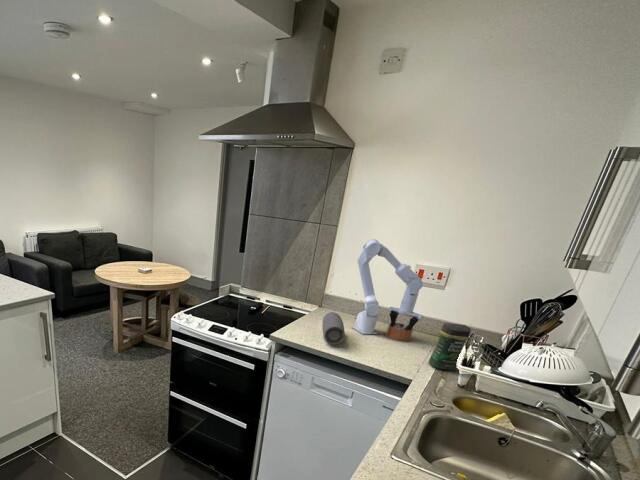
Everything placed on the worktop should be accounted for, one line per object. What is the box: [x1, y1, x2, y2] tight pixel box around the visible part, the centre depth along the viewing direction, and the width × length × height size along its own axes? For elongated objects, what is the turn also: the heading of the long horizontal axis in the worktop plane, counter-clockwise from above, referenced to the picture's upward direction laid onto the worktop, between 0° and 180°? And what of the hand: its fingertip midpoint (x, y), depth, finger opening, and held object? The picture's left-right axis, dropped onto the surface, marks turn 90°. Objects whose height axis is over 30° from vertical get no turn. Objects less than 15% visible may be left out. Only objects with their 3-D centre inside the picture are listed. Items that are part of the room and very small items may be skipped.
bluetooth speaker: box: [321, 311, 346, 345], centre depth 179 cm, size 23×9×10 cm, turn 164°
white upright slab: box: [393, 321, 410, 330], centre depth 188 cm, size 7×2×8 cm, turn 32°
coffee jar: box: [428, 322, 472, 372], centre depth 156 cm, size 10×8×19 cm
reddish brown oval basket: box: [385, 322, 415, 342], centre depth 190 cm, size 14×11×6 cm
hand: (400, 329), depth 188 cm, fingers closed on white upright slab, 7 cm apart
